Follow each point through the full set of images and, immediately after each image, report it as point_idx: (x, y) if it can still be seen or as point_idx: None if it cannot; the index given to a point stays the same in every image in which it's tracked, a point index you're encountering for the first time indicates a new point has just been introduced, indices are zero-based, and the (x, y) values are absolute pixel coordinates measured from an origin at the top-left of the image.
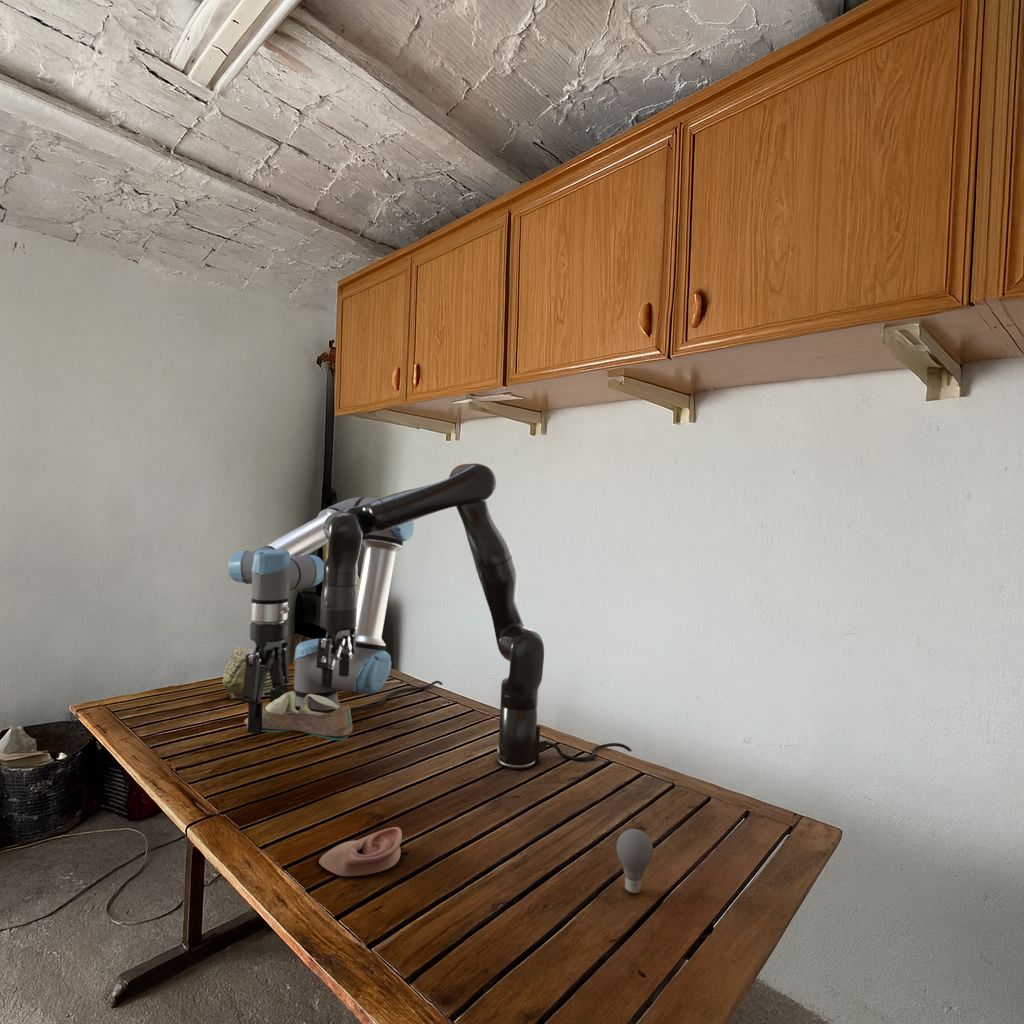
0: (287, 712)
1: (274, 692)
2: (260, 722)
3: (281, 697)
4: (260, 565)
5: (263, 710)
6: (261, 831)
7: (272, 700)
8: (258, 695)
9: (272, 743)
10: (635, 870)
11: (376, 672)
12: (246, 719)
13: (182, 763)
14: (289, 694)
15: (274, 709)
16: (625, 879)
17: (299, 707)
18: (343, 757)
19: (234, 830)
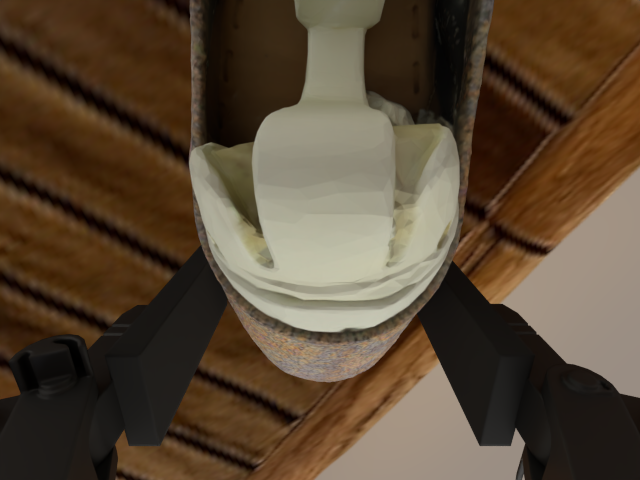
0: (403, 122)
1: (160, 399)
2: (454, 271)
3: (423, 230)
4: None
5: (413, 315)
6: (579, 55)
7: (189, 361)
8: (638, 435)
9: (69, 311)
10: None
11: None
12: (358, 372)
13: (262, 426)
14: (392, 146)
15: (456, 227)
16: None
17: (205, 107)
18: (42, 42)
19: (572, 134)
